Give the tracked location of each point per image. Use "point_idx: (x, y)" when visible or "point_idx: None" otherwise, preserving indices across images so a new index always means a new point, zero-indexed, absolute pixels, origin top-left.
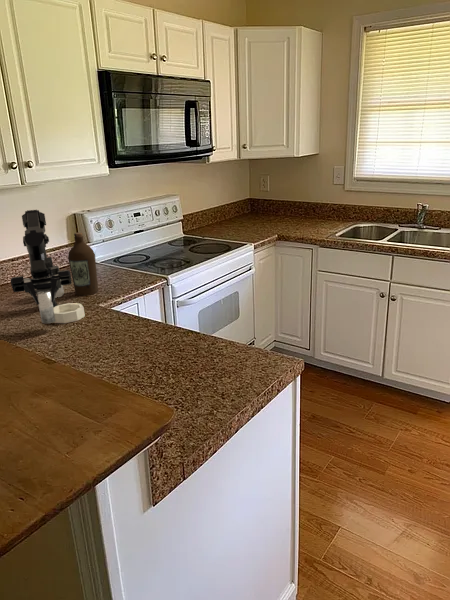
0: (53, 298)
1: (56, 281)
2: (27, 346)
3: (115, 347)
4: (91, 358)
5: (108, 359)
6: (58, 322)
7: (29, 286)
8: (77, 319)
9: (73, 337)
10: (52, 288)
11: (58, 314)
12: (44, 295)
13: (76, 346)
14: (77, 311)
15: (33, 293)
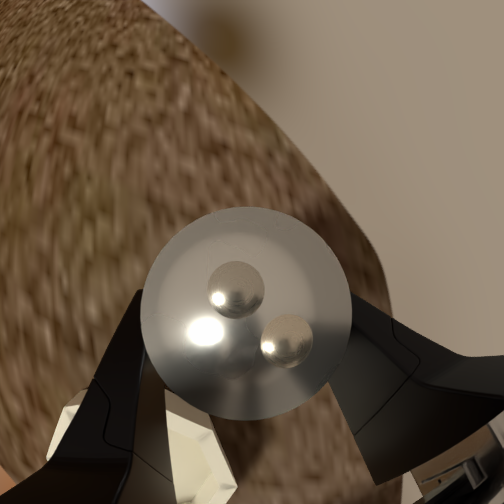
0: (132, 303)
1: (15, 493)
2: (277, 130)
3: (13, 55)
4: (84, 11)
5: (55, 7)
6: (176, 395)
7: (479, 364)
8: (80, 392)
9: (92, 154)
10: (117, 413)
11: (166, 407)
12: (226, 215)
13: (97, 73)
14: (63, 414)
15: (385, 327)
